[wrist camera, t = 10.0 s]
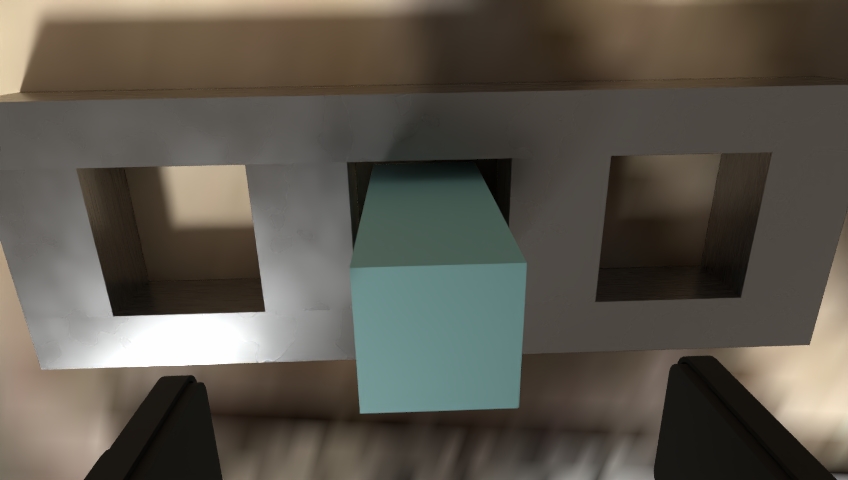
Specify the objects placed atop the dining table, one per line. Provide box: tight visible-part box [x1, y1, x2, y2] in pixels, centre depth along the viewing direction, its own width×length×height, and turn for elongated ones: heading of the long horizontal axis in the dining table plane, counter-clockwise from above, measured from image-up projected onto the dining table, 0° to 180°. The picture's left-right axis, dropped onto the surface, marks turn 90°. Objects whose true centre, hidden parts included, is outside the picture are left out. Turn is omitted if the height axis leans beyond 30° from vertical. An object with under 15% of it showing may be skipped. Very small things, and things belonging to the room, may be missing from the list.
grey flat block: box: [0, 77, 848, 370], centre depth 21 cm, size 10×30×3 cm, turn 91°
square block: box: [350, 162, 527, 414], centre depth 18 cm, size 4×4×10 cm
